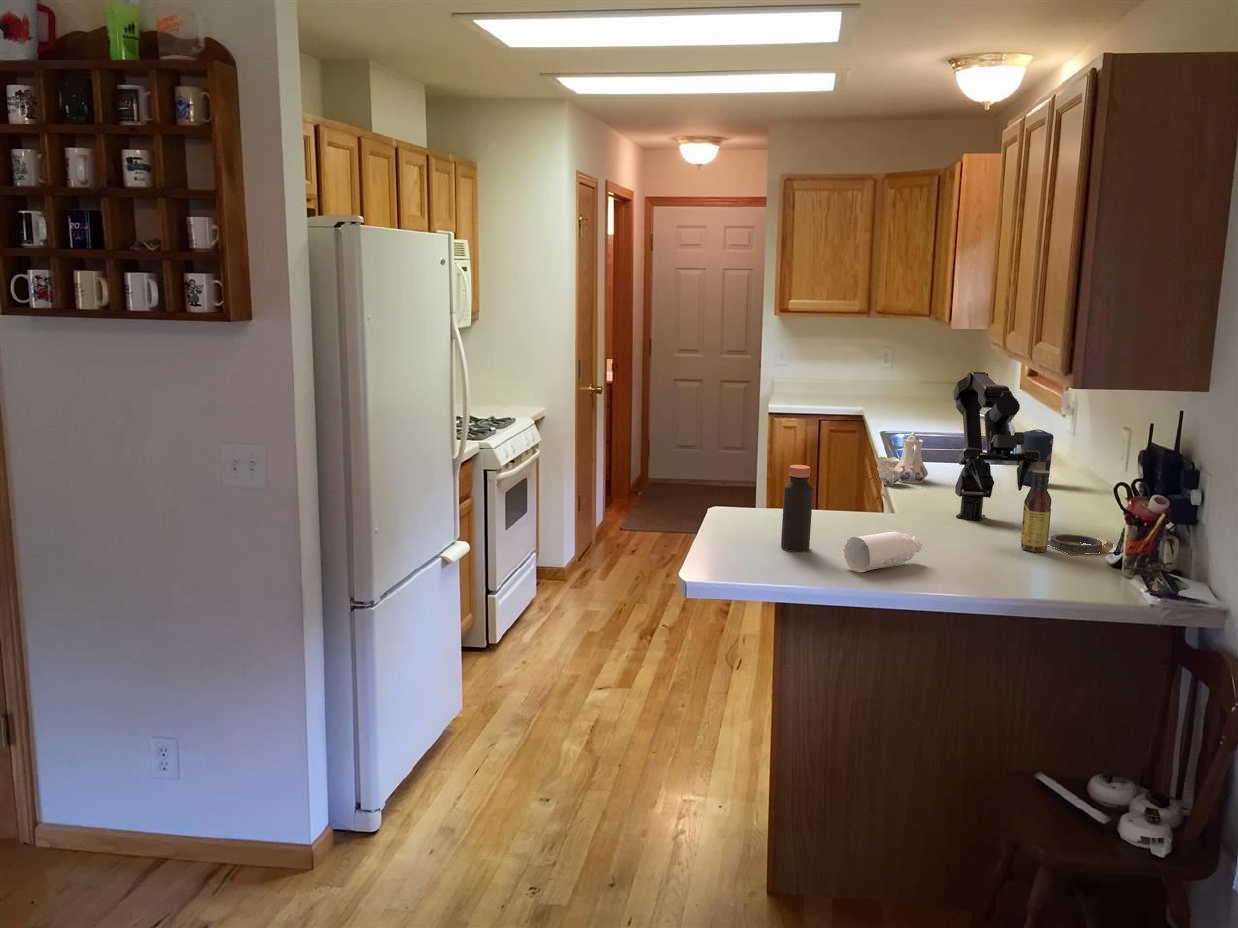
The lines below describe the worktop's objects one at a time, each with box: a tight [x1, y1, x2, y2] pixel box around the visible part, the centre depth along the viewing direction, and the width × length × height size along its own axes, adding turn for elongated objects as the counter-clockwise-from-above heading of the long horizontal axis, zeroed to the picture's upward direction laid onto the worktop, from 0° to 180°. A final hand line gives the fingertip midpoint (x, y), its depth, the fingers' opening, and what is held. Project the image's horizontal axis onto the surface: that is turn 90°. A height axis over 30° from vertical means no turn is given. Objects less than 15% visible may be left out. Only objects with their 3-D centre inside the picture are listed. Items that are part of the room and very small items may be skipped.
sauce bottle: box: [1020, 469, 1052, 553], centre depth 254 cm, size 6×6×20 cm
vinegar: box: [780, 464, 814, 552], centre depth 250 cm, size 7×7×20 cm
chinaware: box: [875, 431, 929, 487], centre depth 337 cm, size 28×17×17 cm, turn 172°
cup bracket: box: [1047, 533, 1114, 555], centre depth 260 cm, size 18×12×2 cm, turn 105°
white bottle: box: [843, 531, 923, 573], centre depth 238 cm, size 8×19×8 cm, turn 121°
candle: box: [1019, 428, 1054, 486], centre depth 335 cm, size 10×10×18 cm
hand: (1001, 489), depth 261 cm, fingers open, 9 cm apart
